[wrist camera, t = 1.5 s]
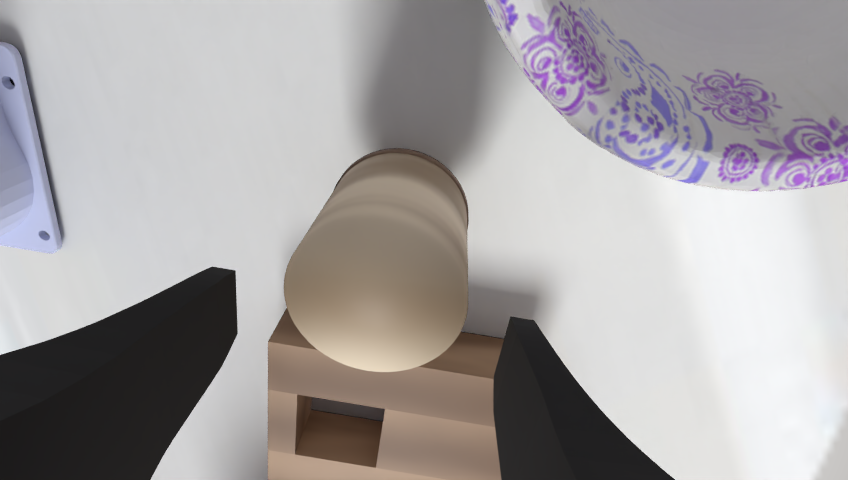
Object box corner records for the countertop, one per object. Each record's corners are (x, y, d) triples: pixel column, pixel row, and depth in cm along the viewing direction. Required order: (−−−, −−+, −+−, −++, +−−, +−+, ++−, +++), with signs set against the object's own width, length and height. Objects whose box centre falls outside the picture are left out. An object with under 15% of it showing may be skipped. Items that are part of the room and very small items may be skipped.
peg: (351, 120, 20) (283, 199, 13) (478, 141, 20) (487, 233, 13) (342, 234, 23) (280, 357, 15) (455, 253, 23) (451, 386, 15)
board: (289, 303, 25) (268, 341, 22) (526, 342, 25) (533, 385, 22) (284, 484, 31) (267, 531, 28) (472, 515, 31) (473, 565, 28)
